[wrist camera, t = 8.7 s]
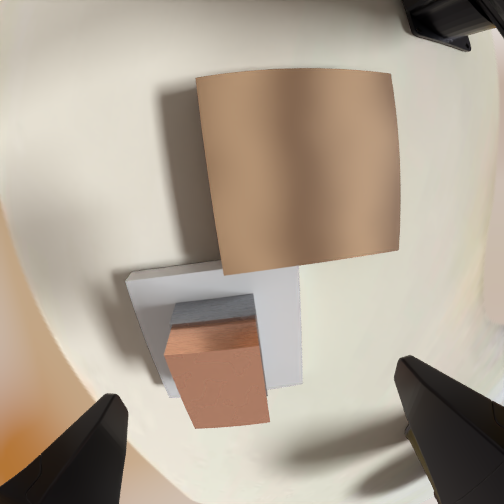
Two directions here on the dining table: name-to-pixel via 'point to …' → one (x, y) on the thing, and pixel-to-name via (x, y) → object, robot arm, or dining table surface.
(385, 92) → the walnut plinth
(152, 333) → the ceramic tile
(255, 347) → the housing
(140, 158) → the dining table surface
